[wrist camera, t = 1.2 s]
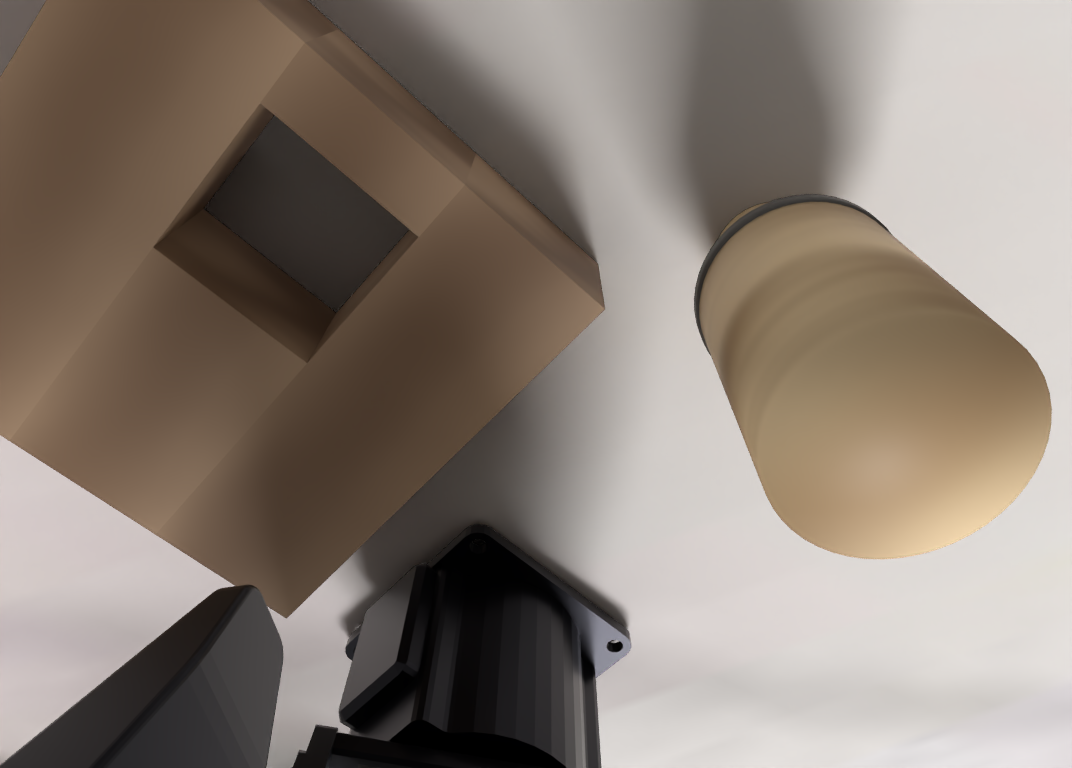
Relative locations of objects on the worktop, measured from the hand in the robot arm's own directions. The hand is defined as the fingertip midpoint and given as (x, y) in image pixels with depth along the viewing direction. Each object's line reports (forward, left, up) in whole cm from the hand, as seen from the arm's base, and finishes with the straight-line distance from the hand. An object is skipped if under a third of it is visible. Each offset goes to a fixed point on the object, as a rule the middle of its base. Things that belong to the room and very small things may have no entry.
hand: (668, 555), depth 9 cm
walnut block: (+5, +7, -13) cm, 16 cm away
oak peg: (-4, -2, -13) cm, 14 cm away
